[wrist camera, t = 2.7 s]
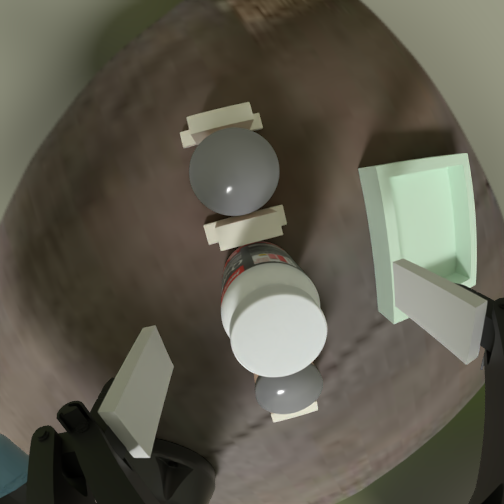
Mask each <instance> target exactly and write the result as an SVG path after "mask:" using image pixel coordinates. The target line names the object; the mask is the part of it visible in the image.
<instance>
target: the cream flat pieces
mask: <svg viewBox="0 0 504 504" xmlns="http://www.w3.org/2000/svg"><path fill="white" fill-rule="evenodd" d="M186 118H187V122H188V126H189V130H186V131H183V132H180V136H181V140H182V144H183V148H188V147H191V146H195V145H198V144H200V143H201V142H202V140H204V139H205V138H206V137H207V136H209V135H210V134H212V133H214V132H216V131H218V130H221V129H225V128H233V127H236V128H244V129H248V130H251V131H255V130H260V129H262V128H263V126H262V122H261V118H260V115H259V113H255V114H253V113H252V109H251V106H250V102H246V103H241V104H236V105H232V106H227V107H223V108H219V109H215V110H211V111H207V112H203V113H200V114H196V115H192V116H189V117H186ZM283 225H287V222H286V217H285V213H284V209H283V205H277V206H273V207H269V208H265V209H261V210H257V211H253V212H251V213H248V214H245V215H240V216H234V217H230V218H226V219H223V220H219V221H215V222H212V223H208V224H204V225H203V226H204V229H205V233H206V236H207V240H208V243H209V245H211V244H214V243H218V242H219V246H220V249H221V251H223V250H227V249H231V248H235V247H238V246H242V245H246V244H250V243H254V242H257V241H261V240H265V239H269V238H273V237H277V236H280V235H283V232H282V228H281V226H283ZM317 410H318V407H317V401H315V402H314V403H312V404H311V405H310V406H308V407H307V408H305V409H303V410H301V411H298V412H295V413H291V414H275V413H271V412H270V413H271V416H272V419H273V422H278V421H282V420H286V419H290V418H293V417H297V416H300V415H304V414H307V413H310V412H314V411H317Z"/></svg>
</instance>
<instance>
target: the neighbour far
mask: <svg viewBox="0 0 504 504" xmlns="http://www.w3.org/2000/svg"><path fill="white" fill-rule="evenodd" d="M254 379H255V394H256V399H257V401H258V403H259V405H260V406H261V407H262V408H264V409H265V410H267V411H269V412H271V413H275V414H291V413H295V412H298V411H301V410H303V409H305V408H307V407H308V406H310V405H311V404H312V403H314V402H315V401H316V399H317V398H318V397H319V395H320V394H321V391H322V388H323V380H322V377H321V375H320V373H319V371H318V369H317V368H316V366H315V365H314V364H313V362H311V363H310V364H309V365H308V366H307V367H305V368H304V369H302V370H300V371H298V372H296V373H294V374H291V375H287V376H283V377H265V376H260V375H257V374H255V373H254Z"/></svg>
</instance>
